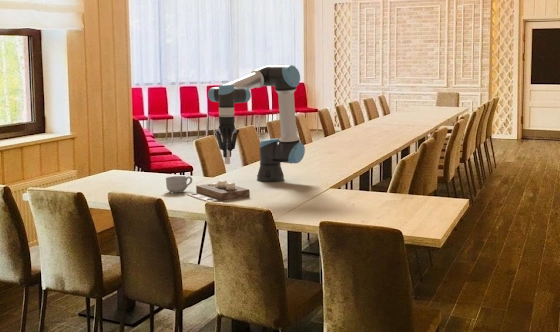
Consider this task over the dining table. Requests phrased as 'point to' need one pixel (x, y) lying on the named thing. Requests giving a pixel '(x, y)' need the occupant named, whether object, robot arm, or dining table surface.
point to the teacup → (177, 183)
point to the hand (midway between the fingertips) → (227, 163)
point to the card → (202, 197)
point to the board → (222, 192)
